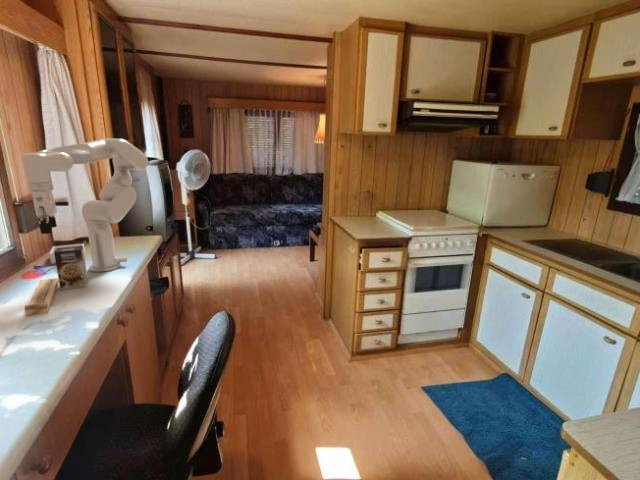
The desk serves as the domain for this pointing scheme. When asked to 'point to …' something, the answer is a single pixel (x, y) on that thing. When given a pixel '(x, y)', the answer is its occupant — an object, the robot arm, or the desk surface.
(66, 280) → the coffee box
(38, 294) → the oak board
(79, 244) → the parts corral
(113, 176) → the robot arm
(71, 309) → the desk surface
